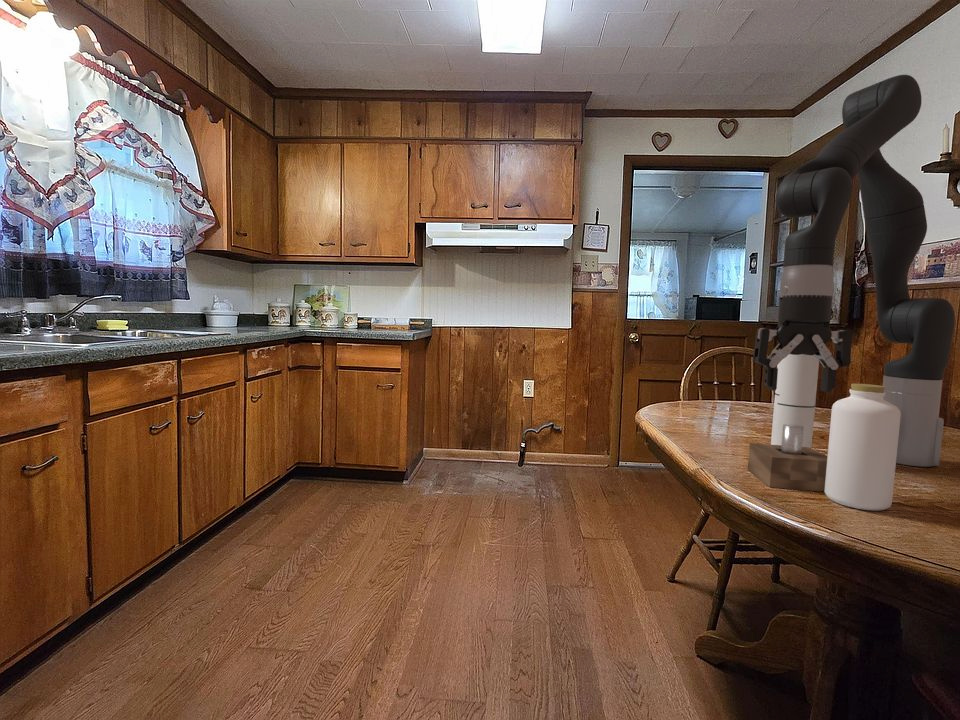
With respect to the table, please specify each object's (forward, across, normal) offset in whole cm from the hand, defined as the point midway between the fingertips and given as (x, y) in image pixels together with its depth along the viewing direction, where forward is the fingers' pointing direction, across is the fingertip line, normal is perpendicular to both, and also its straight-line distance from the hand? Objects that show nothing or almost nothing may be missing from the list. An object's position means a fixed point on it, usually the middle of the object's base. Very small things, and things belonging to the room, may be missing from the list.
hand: (798, 390), depth 88 cm
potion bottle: (+16, -5, +10) cm, 19 cm away
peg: (+14, 0, 0) cm, 14 cm away
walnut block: (+16, 0, 0) cm, 16 cm away
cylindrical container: (+16, -8, -19) cm, 26 cm away
